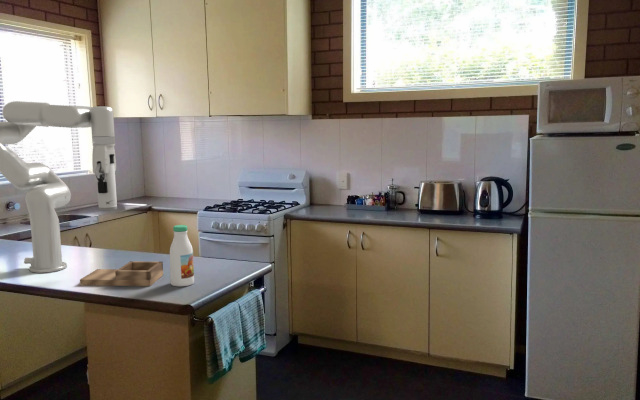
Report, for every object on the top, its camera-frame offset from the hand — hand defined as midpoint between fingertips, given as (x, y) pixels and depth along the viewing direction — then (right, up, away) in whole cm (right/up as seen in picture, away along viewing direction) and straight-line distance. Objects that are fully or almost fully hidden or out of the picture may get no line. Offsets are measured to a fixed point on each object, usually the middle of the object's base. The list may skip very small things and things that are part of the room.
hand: (107, 191), depth 196 cm
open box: (+8, -31, -7) cm, 33 cm away
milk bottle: (+30, -32, -11) cm, 45 cm away
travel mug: (0, -7, +1) cm, 7 cm away
